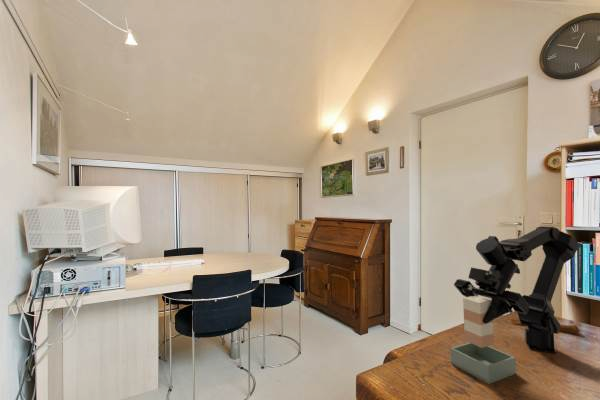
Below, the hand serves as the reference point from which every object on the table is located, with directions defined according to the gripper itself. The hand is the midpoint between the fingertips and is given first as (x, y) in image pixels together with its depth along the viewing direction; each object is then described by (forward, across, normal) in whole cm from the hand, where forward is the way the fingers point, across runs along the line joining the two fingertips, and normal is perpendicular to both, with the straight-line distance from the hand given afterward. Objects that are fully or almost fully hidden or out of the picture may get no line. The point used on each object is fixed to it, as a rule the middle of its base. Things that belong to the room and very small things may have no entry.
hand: (474, 319), depth 80 cm
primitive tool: (-23, -9, +43) cm, 50 cm away
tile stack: (+4, 0, +6) cm, 7 cm away
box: (+8, 0, +10) cm, 14 cm away
